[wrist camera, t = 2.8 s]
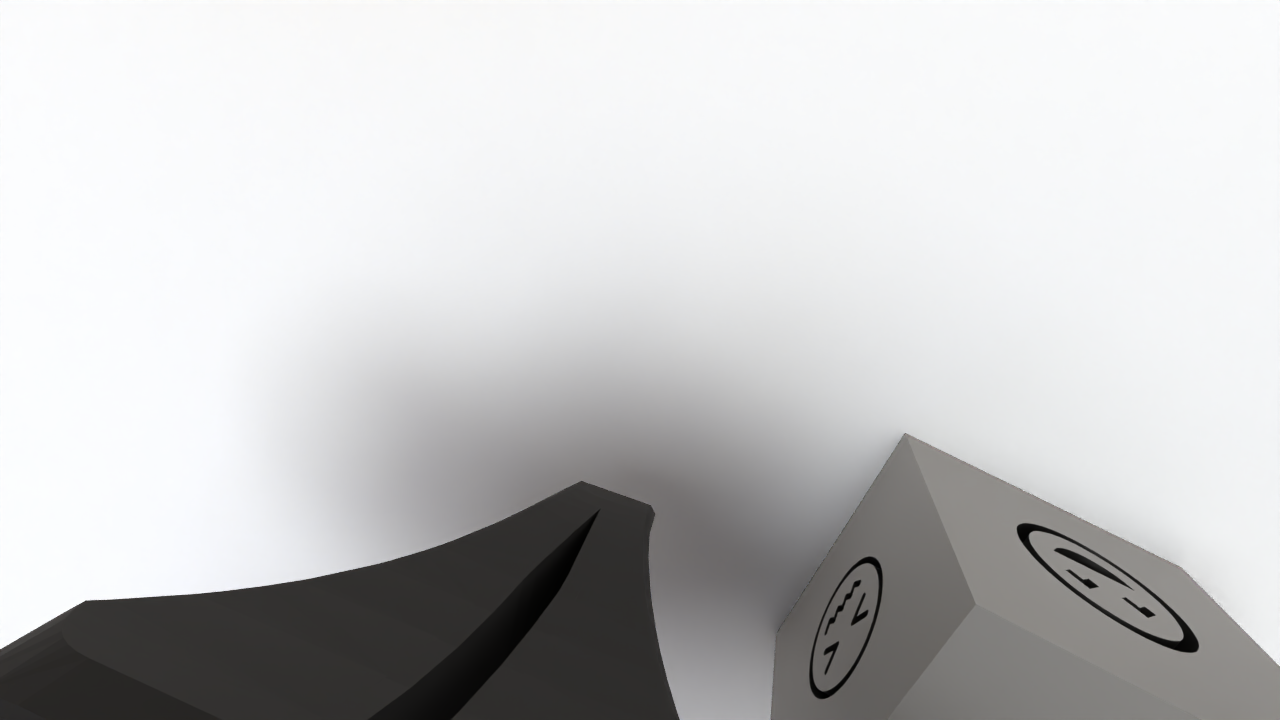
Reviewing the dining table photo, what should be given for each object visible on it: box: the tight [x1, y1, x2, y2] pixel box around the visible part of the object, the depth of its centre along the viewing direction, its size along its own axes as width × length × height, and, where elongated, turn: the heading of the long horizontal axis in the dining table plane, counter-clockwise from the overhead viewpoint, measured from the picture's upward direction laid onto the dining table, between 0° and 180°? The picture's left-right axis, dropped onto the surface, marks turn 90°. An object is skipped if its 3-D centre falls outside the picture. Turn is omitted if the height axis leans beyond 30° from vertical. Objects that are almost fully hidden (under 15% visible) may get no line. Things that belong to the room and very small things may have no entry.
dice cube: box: [771, 433, 1280, 720], centre depth 10 cm, size 5×5×5 cm
